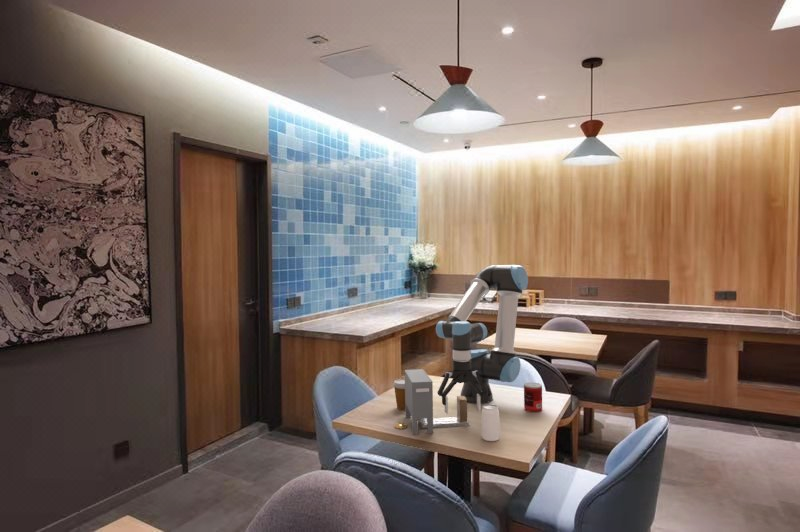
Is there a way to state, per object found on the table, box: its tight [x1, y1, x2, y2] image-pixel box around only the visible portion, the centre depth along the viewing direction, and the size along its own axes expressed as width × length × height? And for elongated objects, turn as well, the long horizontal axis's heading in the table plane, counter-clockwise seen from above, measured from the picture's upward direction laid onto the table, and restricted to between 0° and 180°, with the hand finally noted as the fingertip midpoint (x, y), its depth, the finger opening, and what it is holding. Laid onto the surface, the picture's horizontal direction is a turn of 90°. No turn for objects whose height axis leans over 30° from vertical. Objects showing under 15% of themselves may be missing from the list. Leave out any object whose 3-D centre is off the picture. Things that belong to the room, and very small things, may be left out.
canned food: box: [523, 381, 543, 413], centre depth 213 cm, size 8×8×11 cm
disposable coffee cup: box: [392, 378, 405, 411], centre depth 218 cm, size 10×10×12 cm
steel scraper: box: [419, 395, 470, 429], centre depth 196 cm, size 19×7×10 cm, turn 97°
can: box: [481, 403, 500, 442], centre depth 180 cm, size 6×6×12 cm
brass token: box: [394, 422, 408, 430], centre depth 194 cm, size 5×5×1 cm
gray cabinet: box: [404, 368, 434, 435], centre depth 196 cm, size 8×22×20 cm, turn 7°
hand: (462, 411), depth 197 cm, fingers open, 13 cm apart
